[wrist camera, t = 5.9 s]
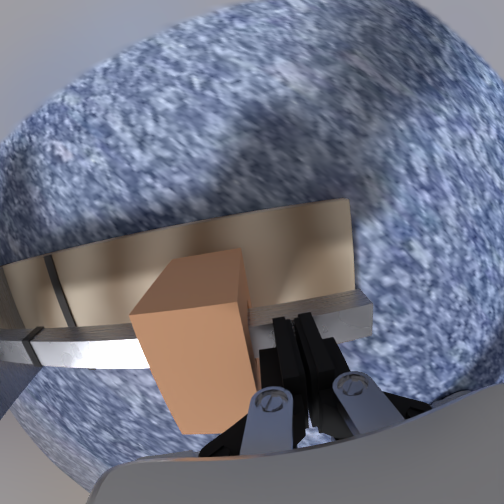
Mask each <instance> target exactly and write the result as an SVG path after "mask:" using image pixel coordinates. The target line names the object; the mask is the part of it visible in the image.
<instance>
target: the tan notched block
mask: <svg viewBox="0 0 504 504" xmlns="http://www.w3.org/2000/svg"><path fill="white" fill-rule="evenodd" d="M250 308H252V305H251V300H250V295H249V289H248V284H247V278H246V273H245V267H244V262H243V256H242V251H241V248H236V249H230V250H224V251H218V252H212V253H206V254H200V255H194V256H188V257H182V258H176V259H172V260H171V261H170V263H169V264H168V265H167V266H166V268H165V269H164V270H163V271H162V273H161V274H160V275H159V276H158V278H157V279H156V280H155V281H154V283H153V284H152V285H151V287H150V288H149V289H148V290H147V292H146V293H145V294H144V296H143V297H142V298H141V299H140V301H139V302H138V303H137V305H136V306H135V307H134V309H133V310H132V311H131V313H130V314H129V318H130V321H131V323H132V326H133V329H134V331H135V334H136V337H137V339H138V342H139V344H140V347H141V349H142V351H143V354H144V356H145V359H146V361H147V363H148V366H149V368H150V370H151V372H152V375H153V377H154V379H155V381H156V383H157V386H158V388H159V390H160V392H161V394H162V396H163V398H164V400H165V402H166V404H167V406H168V408H169V410H170V412H171V414H172V416H173V418H174V420H175V422H176V423H177V425H178V427H179V429H180V431H181V433H182V434H216V433H223V432H225V431H226V430H227V429H229V428H230V427H231V426H232V425H234V424H235V423H236V422H238V421H239V420H240V419H241V418H243V417H244V416H245V415H246V414H248V410H249V405H250V400H251V398H252V396H253V395H254V394H255V393H256V392H257V391H259V390H261V375H260V361H259V358H255V357H254V353H253V348H252V343H251V338H250V333H249V328H248V309H250Z"/></svg>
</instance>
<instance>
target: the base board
mask: <svg viewBox="0 0 504 504" xmlns="http://www.w3.org/2000/svg"><path fill="white" fill-rule="evenodd" d="M236 248H241V251H242V256H243V262H244V267H245V273H246V278H247V284H248V289H249V295H250V300H251V305H252V308H256V307H263V306H269V305H275V304H281V303H287V302H293V301H298V300H304V299H309V298H315V297H320V296H325V295H331V294H336V293H341V292H346V291H351V290H355V275H354V254H353V238H352V225H351V214H350V204H349V199H346V198H339V199H331V200H324V201H317V202H310V203H303V204H296V205H289V206H283V207H276V208H270V209H263V210H257V211H251V212H245V213H239V214H233V215H228V216H222V217H216V218H211V219H205V220H200V221H194V222H189V223H184V224H178V225H173V226H168V227H163V228H158V229H153V230H148V231H143V232H139V233H134V234H129V235H124V236H120V237H115V238H111V239H106V240H102V241H97V242H93V243H89V244H84V245H80V246H76V247H72V248H67V249H63V250H59V251H55V252H51V253H47V254H43V255H39V256H35V257H32V258H28V259H24V260H20V261H17V262H13V263H9V264H6V265H3V266H0V268H1V267H3V269H4V273H5V276H6V279H7V282H8V285H9V288H10V291H11V293H12V296H13V299H14V301H15V304H16V307H17V309H18V312H19V314H20V317H21V319H22V321H23V324H24V326H25V328H26V329H35V328H36V327H37V326H44V328H62V327H81V326H97V325H111V324H123V323H131V321H130V318H129V314H130V313H131V311H132V310H133V309H134V307H135V306H136V305H137V303H138V302H139V301H140V299H141V298H142V297H143V296H144V294H145V293H146V292H147V290H148V289H149V288H150V287H151V285H152V284H153V283H154V281H155V280H156V279H157V278H158V276H159V275H160V274H161V273H162V271H163V270H164V269H165V268H166V266H167V265H168V264H169V263H170V261H171V260H172V259H176V258H182V257H188V256H194V255H200V254H206V253H212V252H218V251H224V250H230V249H236ZM351 341H352V340H351ZM346 342H348V341H346ZM342 343H343V342H342ZM338 344H339V343H338ZM44 366H45V365H44ZM55 367H58V366H55ZM72 368H76V367H72ZM88 369H89V370H96V369H97V368H88ZM103 369H129V368H103Z"/></svg>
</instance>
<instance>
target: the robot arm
mask: <svg viewBox="0 0 504 504" xmlns="http://www.w3.org/2000/svg"><path fill="white" fill-rule="evenodd" d="M272 321H273V328H274V335H275V342H276V347H274V348H267V349H260V350H259V361H260V375H261V390H259V391H257V392H256V393H255V394H254V395H253V396H252V398H251V400H250V405H249V410H248V414H246V415H245V416H244V417H243V418H241V419H240V420H239V421H238V422H236V423H235V424H234V425H232V426H231V427H230V428H229V429H227V430H226V431H225V432H223V433H222V434H221V435H219V436H218V437H217V438H215V439H214V440H213V441H211V442H210V443H208V444H207V445H206V446H205V447H203V448H202V449H201V451H199V452H193V450H189V451H183V452H177V453H170V454H163V455H155V456H146V457H141V458H138V459H137V460H135V461H132V462H127V463H123V464H120V465H117V466H114V467H112V468H110V469H108V470H107V471H105V472H104V473H103V474H102V475H101V476H100V478H99V479H98V480H97V482H96V484H95V485H94V487H93V489H92V491H91V493H90V495H89V497H88V500H87V502H86V504H504V383H498V384H493V385H490V386H486V387H483V388H480V389H478V390H475V391H473V392H472V391H468V390H466V391H460V392H457V393H454V394H452V395H450V396H448V397H446V398H444V399H442V400H439V401H434V402H433V404H432V405H429V404H427V403H424V402H421V401H417V400H413V399H409V398H405V397H402V396H398V395H394V394H391V393H387V392H383V391H382V390H381V389H380V388H379V387H378V386H377V384H376V383H375V382H374V381H373V379H372V378H371V377H370V376H368V375H367V374H365V373H363V372H358V371H350V369H349V367H348V365H347V363H346V361H345V359H344V357H343V355H342V353H341V351H340V349H339V347H338V345H337V343H336V341H335V339H334V337H330V338H325V339H322V337H321V335H320V333H319V330H318V328H317V326H316V323H315V321H314V319H313V316H312V314H311V312H307V313H301V314H298V317H297V318H294V328H295V335H294V331H293V328H292V324H291V321H290V319H285V316H283V317H277V318H272ZM308 410H309V415H310V419H311V423H312V427H316V426H317V427H318V430H319V433H325V434H327V435H330V436H331V441H332V442H328V443H324V444H319V445H314V446H309V447H303V448H298V446H297V444H298V443H299V442H300V441H301V440H302V439H303V438H304V437H305V436H306V434H305V429H306V428H309V424H308Z"/></svg>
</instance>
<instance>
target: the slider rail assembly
mask: <svg viewBox="0 0 504 504" xmlns="http://www.w3.org/2000/svg"><path fill="white" fill-rule="evenodd" d="M2 266H3V265H2ZM307 312H311V314H312V316H313V319H314V321H315V323H316V326H317V328H318V330H319V333H320V335H321V337H322V339H325V338H330V337H334V339H335V341H336V343H337V344H338V343H342V342H346V341H351V340H355V339H359V338H363V337H367V336H371V335H372V321H373V303H372V302H371V301H370V300H369V298H368V297H367V296H366V295H365V294H364V293H363V292H362V291H361V289H355V290H351V291H346V292H341V293H336V294H331V295H325V296H320V297H315V298H309V299H304V300H298V301H293V302H287V303H281V304H275V305H269V306H263V307H256V308H250V309H248V328H249V333H250V338H251V343H252V348H253V353H254V357H255V358H259V350H260V349H267V348H274V347H276V342H275V335H274V328H273V321H272V318H277V317H283V316H285V319H290V321H291V324H292V328H293V331H294V335H295V328H294V318H297V317H298V314H301V313H307ZM44 365H45V366H58V367H76V368H149V366H148V363H147V361H146V359H145V356H144V354H143V351H142V349H141V347H140V344H139V342H138V339H137V337H136V334H135V331H134V329H133V326H132V323H123V324H111V325H97V326H81V327H62V328H44V326H37V327H36V328H35V329H26V328H25V326H24V324H23V321H22V319H21V317H20V314H19V312H18V309H17V307H16V304H15V301H14V299H13V296H12V293H11V291H10V288H9V285H8V282H7V279H6V276H5V273H4V269H3V267H1V268H0V420H1V418H2V417H3V416H4V414H5V413H6V412H7V410H8V409H9V408H10V407H11V405H12V404H13V403H14V401H15V400H16V399H17V398H18V396H19V395H20V394H21V393H22V391H23V390H24V389H25V388H26V387H27V385H28V384H29V383H30V382H31V380H32V379H33V378H34V377H35V376H36V374H37V373H38V372H39V371H40V370H41V369H42V367H43V366H44Z"/></svg>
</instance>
